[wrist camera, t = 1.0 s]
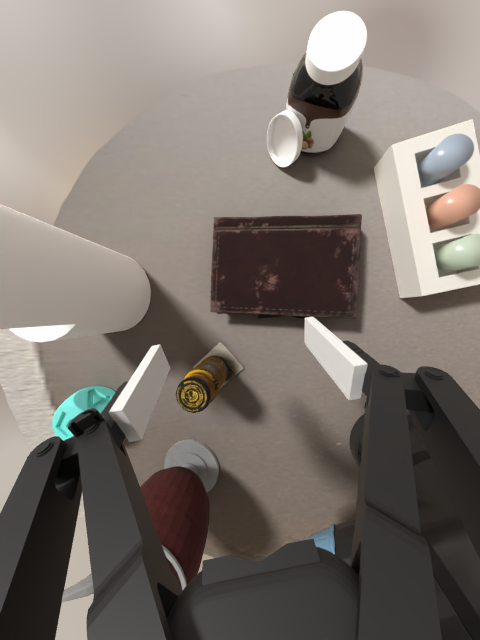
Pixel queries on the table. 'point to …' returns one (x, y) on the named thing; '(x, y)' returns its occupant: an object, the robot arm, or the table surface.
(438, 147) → the slate button
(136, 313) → the cylinder
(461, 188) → the terracotta button
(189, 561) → the mate gourd
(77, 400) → the decorative dice
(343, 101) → the spread jar
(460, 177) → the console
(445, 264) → the sage button
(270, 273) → the diary
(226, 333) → the table surface
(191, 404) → the condiment
